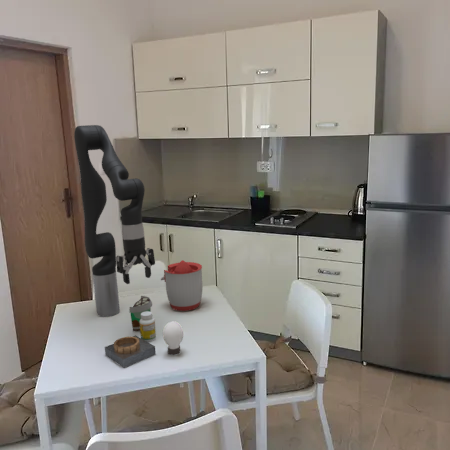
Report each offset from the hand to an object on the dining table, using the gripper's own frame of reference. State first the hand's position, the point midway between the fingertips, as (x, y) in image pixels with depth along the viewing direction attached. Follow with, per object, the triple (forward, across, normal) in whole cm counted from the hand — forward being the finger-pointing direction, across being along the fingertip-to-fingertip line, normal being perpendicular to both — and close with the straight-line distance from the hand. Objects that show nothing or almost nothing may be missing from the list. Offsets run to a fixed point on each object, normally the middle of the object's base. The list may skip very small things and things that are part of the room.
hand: (137, 280), depth 167 cm
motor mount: (+21, +12, +11) cm, 26 cm away
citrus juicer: (+20, -26, -10) cm, 35 cm away
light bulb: (+21, +1, +20) cm, 29 cm away
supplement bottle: (+21, +1, +5) cm, 21 cm away
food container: (+21, -4, -5) cm, 22 cm away
